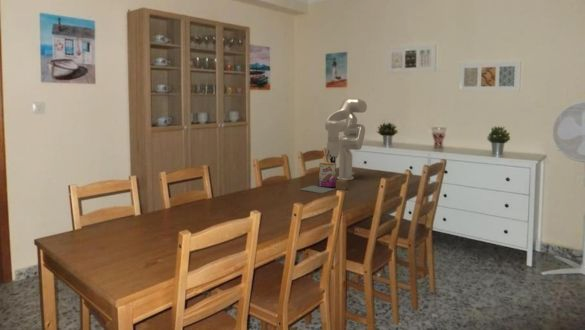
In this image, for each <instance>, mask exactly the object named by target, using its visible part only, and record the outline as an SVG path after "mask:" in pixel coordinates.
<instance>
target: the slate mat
mask: <svg viewBox="0 0 585 330" xmlns="http://www.w3.org/2000/svg"><path fill="white" fill-rule="evenodd" d="M299 191H302V192H303V191H304V192H309V193H314V194H321V195H323V194H326V193H329V192H332V191H336V188H333V187H321V186H318V185H309V186H306V187H302V188H299Z"/></svg>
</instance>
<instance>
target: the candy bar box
mask: <svg viewBox="0 0 585 330" xmlns="http://www.w3.org/2000/svg"><path fill="white" fill-rule="evenodd" d="M318 171H319V173H318V185H317V186H319V187H325V188H336V175H337V162H335V163H330V161H329V162H326V161H320V162H319V170H318Z"/></svg>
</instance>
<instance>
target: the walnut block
mask: <svg viewBox="0 0 585 330" xmlns="http://www.w3.org/2000/svg"><path fill="white" fill-rule="evenodd" d="M347 189H348V180H343V179H337V180H336V179H335V191H336V190H337V191H338V190H339V191H346V190H347Z"/></svg>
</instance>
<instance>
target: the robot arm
mask: <svg viewBox="0 0 585 330" xmlns="http://www.w3.org/2000/svg"><path fill="white" fill-rule="evenodd" d="M367 108H368V106H367V102H366V101H365V100H363V99H360V98H346V99H343V101H342V103H341V104H340V106H339V109H338V110H336V111H335V112H333V113H332V114H330V115H329V116H328V117H327V119H326V121H325V124H324V129H325V130H326V131H327V143H326V150H325V156H326V157H327V159H328V160H329V162H330V163H336V162H337V158H339V161H338V162H339V167H338V169H339V170H338V174H339V175H338V176H336V179H337V180H338V179H343V180H347V181H351V180H354V179H355V177H354V176H353V175H355V172H354V171H353V152H351V150H357V151H358V150H361V149H362V147H363V144H364V143H363V142H364V138H365V134H366V127H365V126H364V124H360V123H358V118H357V116H356V114H354V113H359V114H360V113H363V114H364V113H366V111H367V110H368V109H367ZM343 120H345V121H343ZM341 132H342V133H343V136H340V133H341Z"/></svg>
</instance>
